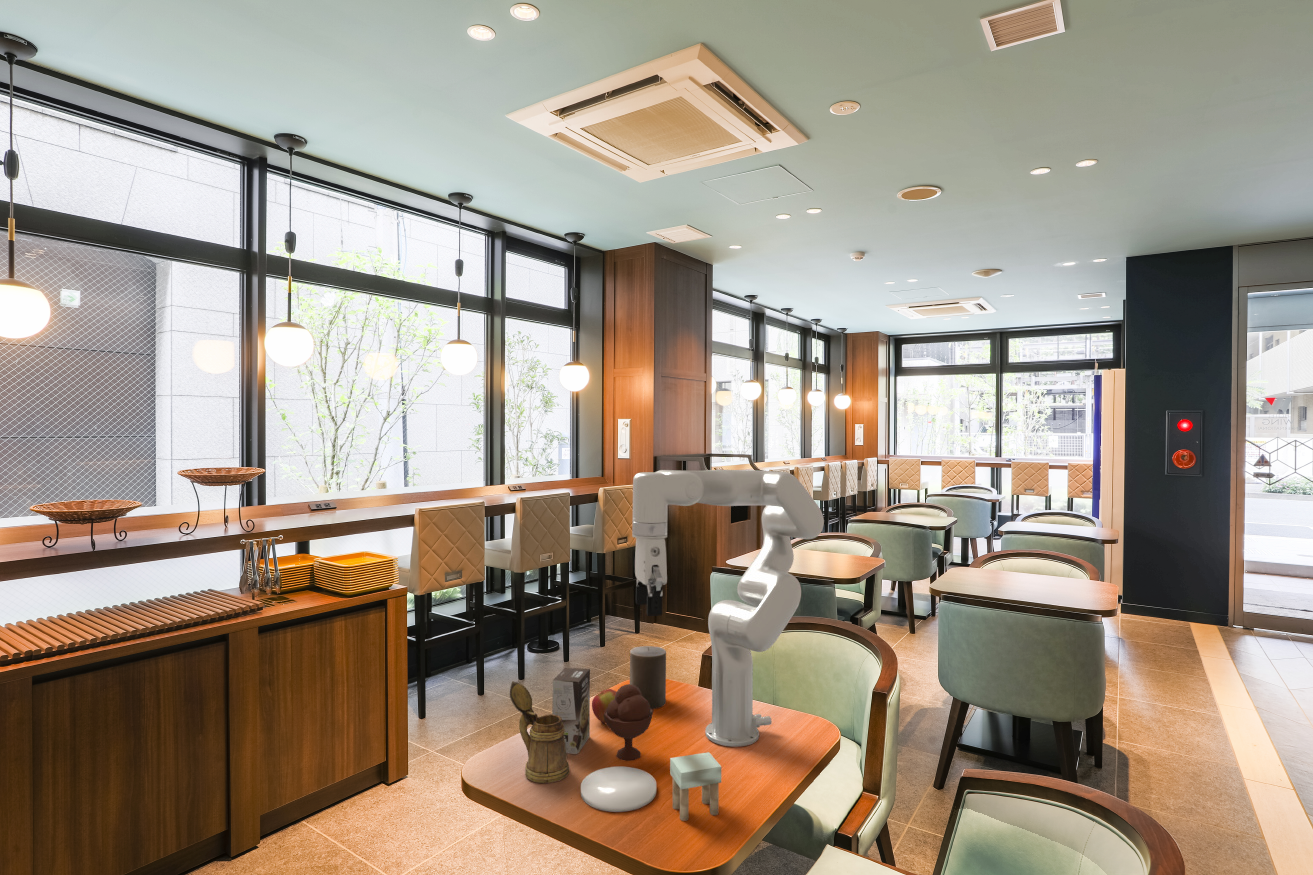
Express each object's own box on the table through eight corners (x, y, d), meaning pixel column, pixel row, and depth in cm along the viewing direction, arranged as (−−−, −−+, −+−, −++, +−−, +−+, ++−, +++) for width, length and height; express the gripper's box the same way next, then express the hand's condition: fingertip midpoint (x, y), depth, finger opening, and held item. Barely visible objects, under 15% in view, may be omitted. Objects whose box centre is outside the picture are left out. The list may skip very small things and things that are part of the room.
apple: (609, 713, 171) (609, 681, 171) (630, 722, 166) (631, 690, 166) (586, 721, 166) (586, 689, 166) (607, 732, 160) (608, 698, 160)
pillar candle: (653, 712, 172) (654, 653, 172) (621, 704, 177) (622, 647, 177) (672, 700, 180) (673, 644, 180) (641, 693, 185) (642, 638, 185)
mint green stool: (708, 798, 131) (708, 751, 131) (721, 814, 125) (721, 766, 125) (669, 804, 128) (670, 757, 128) (680, 822, 123) (681, 772, 123)
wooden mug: (522, 755, 148) (522, 674, 148) (576, 767, 143) (577, 682, 143) (498, 774, 140) (499, 687, 140) (555, 787, 135) (556, 697, 135)
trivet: (643, 767, 143) (643, 761, 143) (666, 804, 129) (666, 797, 129) (573, 778, 138) (573, 772, 138) (589, 817, 124) (589, 811, 124)
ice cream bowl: (593, 755, 148) (593, 687, 148) (629, 739, 156) (629, 674, 156) (627, 772, 141) (627, 700, 141) (663, 754, 149) (663, 686, 149)
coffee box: (578, 754, 149) (579, 681, 149) (551, 751, 150) (551, 679, 150) (590, 736, 158) (591, 668, 158) (564, 734, 159) (565, 666, 159)
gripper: (678, 534, 137) (676, 619, 137) (656, 524, 154) (655, 599, 154) (642, 535, 135) (641, 621, 135) (624, 525, 152) (622, 601, 152)
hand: (648, 609), depth 144 cm, fingers open, 9 cm apart
